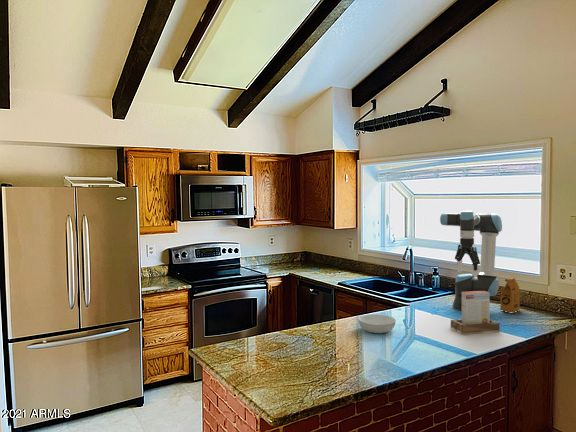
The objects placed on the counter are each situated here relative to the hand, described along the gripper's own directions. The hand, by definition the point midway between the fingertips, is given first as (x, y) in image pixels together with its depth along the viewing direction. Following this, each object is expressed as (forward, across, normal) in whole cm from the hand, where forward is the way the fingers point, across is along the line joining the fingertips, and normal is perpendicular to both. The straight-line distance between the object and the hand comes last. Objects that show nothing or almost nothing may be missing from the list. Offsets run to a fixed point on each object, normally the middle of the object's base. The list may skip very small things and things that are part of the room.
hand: (467, 273), depth 263 cm
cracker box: (+29, +10, -2) cm, 31 cm away
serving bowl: (+30, -4, -56) cm, 63 cm away
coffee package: (+32, -21, +47) cm, 60 cm away
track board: (+30, +10, -2) cm, 32 cm away
